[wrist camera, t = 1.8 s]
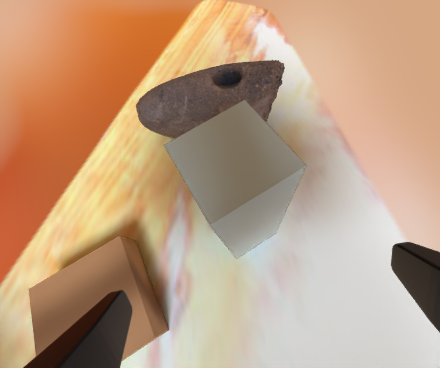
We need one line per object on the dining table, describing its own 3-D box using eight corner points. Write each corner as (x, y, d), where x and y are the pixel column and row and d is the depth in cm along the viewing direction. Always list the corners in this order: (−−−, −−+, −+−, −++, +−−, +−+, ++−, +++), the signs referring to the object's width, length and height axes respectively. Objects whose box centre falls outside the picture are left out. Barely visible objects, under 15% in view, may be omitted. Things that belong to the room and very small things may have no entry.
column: (275, 233, 18) (306, 165, 7) (236, 259, 18) (209, 225, 7) (249, 197, 20) (244, 100, 9) (213, 220, 20) (163, 145, 9)
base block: (170, 328, 17) (154, 337, 14) (78, 390, 16) (42, 412, 13) (137, 241, 20) (119, 235, 18) (59, 288, 19) (28, 289, 17)
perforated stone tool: (147, 152, 24) (109, 107, 18) (154, 116, 26) (123, 65, 20) (281, 143, 22) (293, 88, 16) (277, 105, 24) (285, 44, 18)
